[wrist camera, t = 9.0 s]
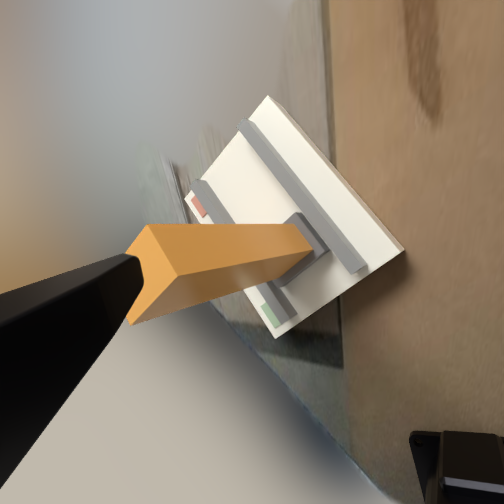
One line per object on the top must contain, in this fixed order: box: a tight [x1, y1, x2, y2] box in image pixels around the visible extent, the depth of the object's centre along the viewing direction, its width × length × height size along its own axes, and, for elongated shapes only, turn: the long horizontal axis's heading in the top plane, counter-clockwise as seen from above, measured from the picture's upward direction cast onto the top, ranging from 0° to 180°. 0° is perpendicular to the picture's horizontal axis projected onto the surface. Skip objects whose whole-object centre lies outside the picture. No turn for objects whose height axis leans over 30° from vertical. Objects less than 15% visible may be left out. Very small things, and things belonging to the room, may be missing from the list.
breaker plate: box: [185, 96, 405, 339], centre depth 21 cm, size 13×10×3 cm
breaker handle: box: [125, 212, 330, 325], centre depth 15 cm, size 3×4×12 cm
